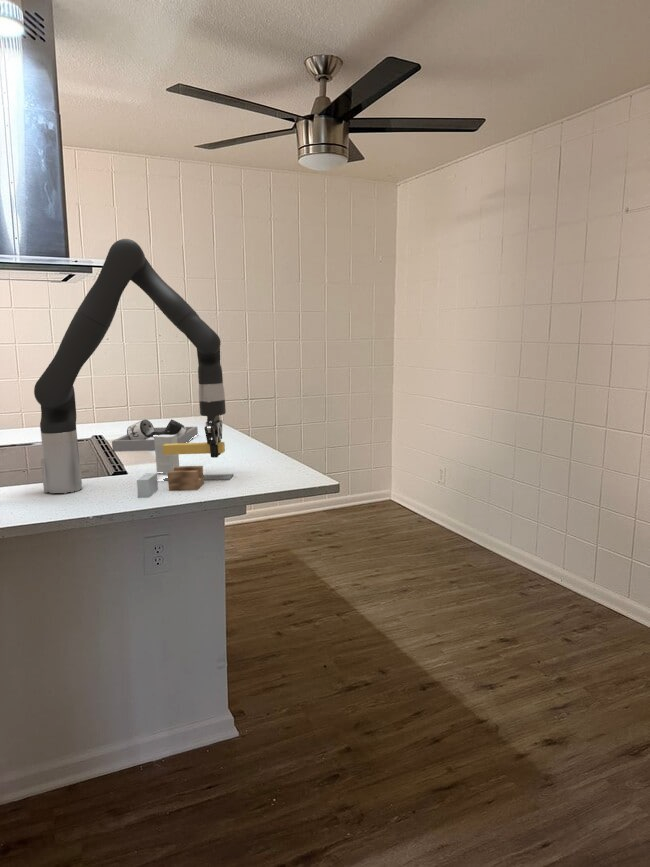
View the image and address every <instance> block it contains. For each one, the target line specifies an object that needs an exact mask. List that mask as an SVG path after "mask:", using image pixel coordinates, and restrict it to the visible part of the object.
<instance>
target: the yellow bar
mask: <svg viewBox="0 0 650 867" xmlns="http://www.w3.org/2000/svg"><path fill="white" fill-rule="evenodd" d="M162 447H163V455H172V454H178V455H199V454H202V455H203V454H205V455H206V454H210V445H209V444H207V442H188V443H173V444H164V445H162ZM225 451H226V445H225V441H221V442H218V453H221V454H223V453H225Z"/></svg>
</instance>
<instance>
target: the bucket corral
mask: <svg viewBox="0 0 650 867" xmlns="http://www.w3.org/2000/svg"><path fill="white" fill-rule="evenodd" d="M166 427H167V426H165V427H154V431H155V432H162V431H164V430H165V429H166ZM185 427H186V428H187V431H186V433H185V434H181V435H179V436H177V442H178V443H186V442H188V441H189V440H190V439H191V438H192V437H194V436H195V435H197V434H198V435H199V431H198V426H185ZM155 435H156V434H155ZM189 442H190V441H189ZM189 442H188V443H189ZM111 446H112V451H113V450H114V451H113V452H143V451H145V452H146V451H155V443H154V438H153V439H146V440H130V439H129V435H127V434H124V435H122V436H120V437H118V438H115V439H113V440H112V441H111Z"/></svg>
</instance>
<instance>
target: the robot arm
mask: <svg viewBox="0 0 650 867" xmlns="http://www.w3.org/2000/svg"><path fill="white" fill-rule="evenodd" d="M130 281H131V282H132V283H133V284H135V285H136V286H138V287H139V289H141V290H142V291H143V292H144V293H145V294H146V296H148V297H149V298H150V299H151V301H152V302H153V303H154V304H155V305H156V306H157V307H158V309H159V310H160V311H161V312H162V314H163V315H164V316H165V317H166V318H167V319H168V320H169V321H170V322H171V323H172V324H173V325H174V326H175V327H176V329H177V330H179V331H180V332H181V333H182V334H183V335H185V337H186V338H187V339H188V340H189V341H190V342H191V343H192V345H193V346H194V347H195V348H196V356H197V364H198V367H197V377H198V401H199V402H198V403H199V415H200V416H202V417H206V422H205V426H204V431H205V438H206V443H207V444H209V445H210V453H209V454H210V457H211V458H214V459H215V458H218V457H219V456H220V455H221V454H222V453H218V442H222V439H223V420H222V419H221V418H220V416H223V415H225V414H226V411H227V410H226V396H225V395H226V394H225V388H224V380H223V379H224V378H223V368H222V365H221V339H220V336H219V335H218V334H217V333H216V331H214V330H213V329H212V327H210V326H209V325H208V324H207V323H206V322H205V321H204V320H203V319H201V317H200V316H199V314H198V313H197V311H195V310H194V309H193V307H192V306H190V304H189V303H188V302H187V301H186V300H185V299H184V297H182V296H181V295H180V294H179V293H178V292H177V291H175V290H174V289H173V288H172V287H171V286H170V285H169V284H167V283H166V282H165V280H163V279H162V277H161V276H160V275H159V274H158V273H157V272H156V270H155V269H154V268H153V266H152V265H151V264H150V262H149V260H148V259H147V257H146V255H145V253H144V251H143V248H142V247H141V246H140V245H139V244H138V243H137V242H136V241H135V240H133V239H129V238H122V239H118V240H116V241H115V242H113V244H112V245H111V247H110V248H109V250H108V253H107V255H106V258H105V260H104V263H103V265H102V267H101V270H100V272H99V274H98V276H97V278H96V279H95V282H94V284H93V285H92V286H91V287H90V289H89V290H88V292H87V294H86V295H85V297H84V298H83V300H82V302H81V303H80V305H79V307H78V308H77V311H76V312H75V314H74V316H73V318H71V321H70V323H69V325H68V327H67V329H66V331H65V333H64V335H63V338H62V340H61V342H60V344H59V346H58V349H57V351H56V353H55V355H54V356H53V358H52V360H51V361H50V363H49V365H47V367H46V368H45V370H44V371H43V373H42V374H41V375H40V377H39V379H37V381H36V382H35V384H34V388H33V395H34V398H35V401H36V402H37V403H38V404H39V405H40V412H41V415H40V421H39V422H40V423H39V428H40V439H41V444H42V445H41V446H42V456H43V458H42V459H40V466H41V476H42V484H43V493H44V492H50V493H64V494H68V493H67V492H71V493H75V492H78V491H80V489H81V490H82V489H83V481H82V471H81V462H80V453H79V452H80V451H79V442H78V433H77V408H76V406H77V404H76V395H75V394H76V393H75V388H74V384H75V382H76V380H77V377H78V375H79V373H80V371H81V370H82V367H83V366H84V365H85V364H86V362H87V361H88V359H90V357H91V356H92V355H93V354H94V352H95V351H96V350H97V348H98V347H99V345H100V344H101V343H102V341H103V339H104V338H105V336H106V334H107V332H108V331H109V329H110V326H111V325H112V322H113V319H114V318H115V315H116V312H117V309H118V306H119V302H120V300H121V297H122V294H123V293H124V291H125V289H126V287H127V286H128V284H129V282H130ZM74 491H75V492H74ZM50 493H49V494H50Z"/></svg>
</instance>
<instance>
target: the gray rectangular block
mask: <svg viewBox="0 0 650 867" xmlns="http://www.w3.org/2000/svg"><path fill="white" fill-rule="evenodd" d="M157 480H158V474H157V472H151V473H144V474H143V475H142V476H140V477H138V479H136V487H137V488H136V489H137V498H139V499H141V498H144V499H145V498H146V499H147V498H150V497H152V496H153V495H154V494H156V493H157V492H158V491H159V485H158V483H159V482H157ZM157 490H158V491H157Z"/></svg>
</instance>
